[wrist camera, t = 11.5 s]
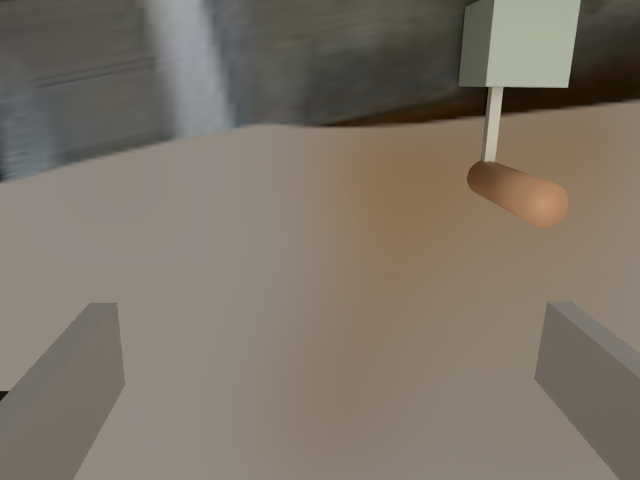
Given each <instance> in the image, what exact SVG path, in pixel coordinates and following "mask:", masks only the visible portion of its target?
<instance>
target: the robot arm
mask: <svg viewBox="0 0 640 480" xmlns="http://www.w3.org/2000/svg"><path fill="white" fill-rule="evenodd" d="M535 380H536V381H537V383H538V384H539V385H540V386H541V387H542V388H543V390H544V391H545V392H546V393H547V395H548V396H549V397H550V398H551V399H552V400H553V402H554V403H555V404H556V405H557V406H558V408H559V409H560V410H561V411H562V412H563V413H564V415H565V416H566V417H567V418H568V419H569V421H570V422H571V423H572V424H573V425H574V426H575V428H576V429H577V430H578V431H579V432H580V434H581V435H582V436H583V437H584V438H585V440H586V441H587V442H588V443H589V444H590V445H591V447H593V449H594V450H595V451H596V452H597V454H598V455H599V456H600V457H601V458H602V460H603V461H604V462H605V463H606V464H607V466H608V467H609V468H610V469H611V470H612V471H613V473H614V474H615V475H616V476H617V477H618V478H619V480H640V353H638V352H637V351H636V350H634V349H633V348H632V347H630V346H629V345H628V344H627V343H625V342H624V341H622V340H621V339H620V338H618V337H617V336H616V335H614V334H613V333H612V332H611V331H609V330H608V329H607V328H605V327H604V326H603V325H601V324H600V323H599V322H597V321H596V320H595V319H594V318H592V317H591V316H589V315H588V314H587V313H586V312H584V311H583V310H581V309H580V308H579V307H578V306H576V305H575V304H574V303H572V302H571V301H561V302H560V301H551V302H547V306H546V312H545V319H544V325H543V331H542V336H541V343H540V348H539V354H538V360H537V366H536V372H535ZM124 385H125V380H124V370H123V360H122V350H121V340H120V330H119V322H118V312H117V303H90V304H89V305H88V306H87V307H86V308H85V309H84V310H83V311H82V312H81V314H80V315H79V316H78V317H77V318H76V319H75V320H74V321H73V322H72V323H71V324H70V326H69V327H68V328H67V329H66V330H65V331H64V332H63V333H62V334H61V335H60V337H59V338H58V339H57V340H56V341H55V342H54V343H53V344H52V345H51V346H50V348H49V349H48V350H47V351H46V352H45V353H44V354H43V355H42V356H41V357H40V358H39V360H38V361H37V362H36V363H35V364H34V365H33V366H32V367H31V368H30V370H29V371H28V372H27V373H26V374H25V375H24V376H23V377H22V378H21V379H20V380H19V381H18V383H17V384H16V385H15V386H14V387H13V388H12V389H11V390H10V391H0V480H73V479H74V477H75V475H76V473H77V472H78V470H79V468H80V466H81V464H82V462H83V461H84V459H85V457H86V455H87V453H88V451H89V449H90V448H91V446H92V444H93V442H94V440H95V439H96V437H97V435H98V433H99V431H100V429H101V428H102V426H103V424H104V422H105V420H106V418H107V417H108V414H109V413H110V411H111V409H112V407H113V405H114V404H115V402H116V400H117V398H118V396H119V395H120V393H121V391H122V389H123V387H124Z"/></svg>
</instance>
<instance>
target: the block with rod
mask: <svg viewBox="0 0 640 480" xmlns="http://www.w3.org/2000/svg"><path fill="white" fill-rule="evenodd" d="M580 1H581V0H479V1H477V2H475V3H472V4H470V5H468V6H466V7H465V16H464V27H463V39H462V50H461V62H460V73H459V85H458V86H461V87H489V89H488V98H487V108H486V118H485V127H484V137H483V147H482V157H481V161H479V162H477V163H476V164H474V165H473V166H472V168H471V169H470V170H469V173H468V177H467V180H468V184H469V187H470V188H471V189H472V190H473V191H474V192H475V193H477V194H479V195H481V196H483V197H484V198H486V199H488V200H490V201H491V202H493V203H495V204H497V205H499V206H501V207H503V208H504V209H506V210H507V211H509V212H511V213H513V214H515V215H516V216H518V217H520V218H522V219H524V220H525V221H527V222H529V223H531V224H532V225H534V226H537V227H542V228H545V227H550V226H553V225H555V224H557V223H558V222H559V221H560V220H561V219H562V218H563V217H564V216H565V214H566V212H567V209H568V206H569V199H568V195H567V193H566V191H565V190H564V189H563V188H562V187H561V186H559V185H557V184H554V183H551V182H549V181H546V180H543V179H540V178H538V177H535V176H532V175H529V174H527V173H524V172H521V171H518V170H516V169H513V168H510V167H507V166H504V165H502V164H499V163H496V162H495V157H496V148H497V139H498V130H499V121H500V112H501V103H502V94H503V87H568V83H569V76H570V69H571V62H572V56H573V49H574V42H575V35H576V28H577V22H578V15H579V8H580Z"/></svg>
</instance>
